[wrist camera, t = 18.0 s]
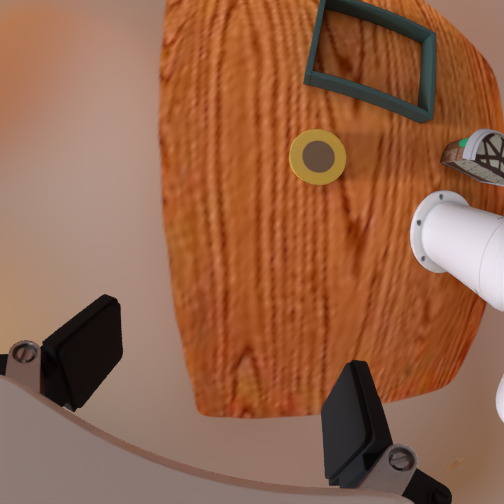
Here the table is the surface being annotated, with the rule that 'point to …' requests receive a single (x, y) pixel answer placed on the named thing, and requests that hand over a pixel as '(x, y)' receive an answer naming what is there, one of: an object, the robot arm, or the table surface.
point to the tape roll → (317, 157)
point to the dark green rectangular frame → (348, 4)
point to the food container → (478, 156)
